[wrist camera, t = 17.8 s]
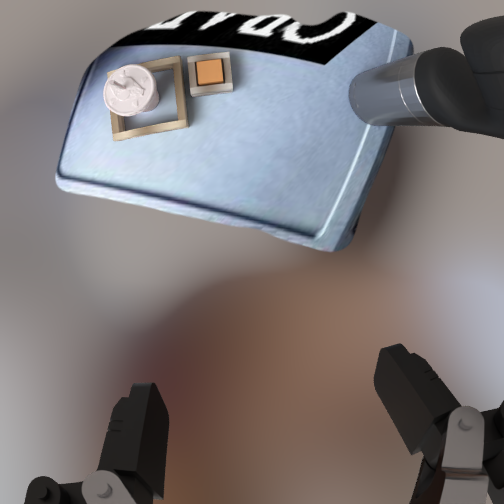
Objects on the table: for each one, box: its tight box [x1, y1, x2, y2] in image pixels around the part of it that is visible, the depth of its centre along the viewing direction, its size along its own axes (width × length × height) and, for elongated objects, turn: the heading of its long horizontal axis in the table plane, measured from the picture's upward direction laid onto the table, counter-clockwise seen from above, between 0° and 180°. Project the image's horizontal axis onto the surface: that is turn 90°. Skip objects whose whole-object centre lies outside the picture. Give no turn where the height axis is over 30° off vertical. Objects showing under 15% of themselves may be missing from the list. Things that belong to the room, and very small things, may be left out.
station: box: [107, 52, 233, 141], centre depth 35 cm, size 17×10×3 cm, turn 96°
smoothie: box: [103, 64, 159, 116], centre depth 30 cm, size 6×6×14 cm
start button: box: [197, 59, 223, 86], centre depth 34 cm, size 3×3×2 cm
